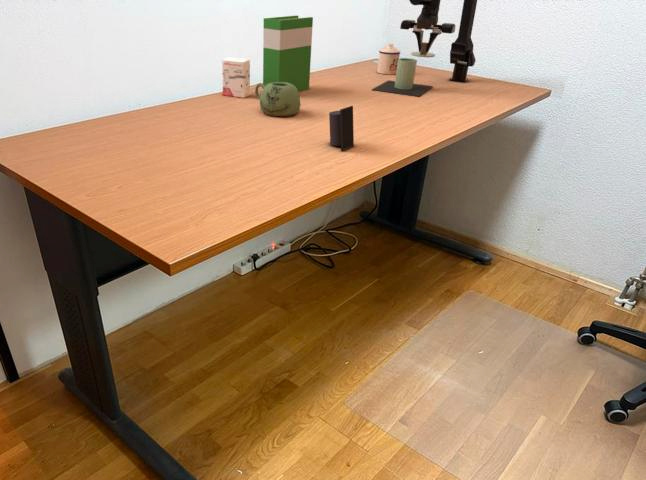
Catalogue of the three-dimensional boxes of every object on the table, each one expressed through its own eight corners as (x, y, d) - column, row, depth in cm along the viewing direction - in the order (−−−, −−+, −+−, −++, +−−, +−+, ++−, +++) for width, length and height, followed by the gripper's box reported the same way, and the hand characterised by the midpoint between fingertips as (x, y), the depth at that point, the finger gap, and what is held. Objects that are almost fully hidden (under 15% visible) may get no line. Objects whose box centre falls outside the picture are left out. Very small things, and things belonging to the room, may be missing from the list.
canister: (408, 85, 197) (413, 58, 191) (415, 89, 191) (419, 61, 186) (391, 85, 196) (395, 58, 190) (397, 89, 190) (402, 61, 185)
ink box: (221, 95, 175) (220, 58, 169) (228, 92, 179) (227, 56, 173) (244, 98, 172) (243, 61, 166) (250, 95, 176) (250, 59, 170)
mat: (388, 81, 204) (388, 80, 204) (432, 87, 197) (432, 86, 197) (371, 90, 189) (372, 89, 189) (418, 96, 182) (419, 96, 182)
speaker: (360, 147, 130) (360, 106, 125) (342, 151, 128) (341, 109, 123) (342, 141, 136) (342, 102, 131) (325, 145, 134) (324, 105, 129)
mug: (307, 111, 160) (309, 83, 155) (285, 120, 151) (286, 90, 146) (266, 103, 167) (267, 76, 162) (243, 111, 158) (243, 82, 153)
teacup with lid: (392, 75, 214) (396, 46, 207) (372, 72, 218) (376, 43, 212) (403, 71, 222) (407, 43, 216) (384, 69, 226) (388, 41, 220)
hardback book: (293, 85, 192) (296, 15, 179) (309, 88, 188) (312, 17, 175) (263, 92, 180) (263, 18, 167) (278, 96, 176) (280, 20, 164)
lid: (414, 52, 192) (416, 40, 189) (437, 55, 188) (439, 42, 186) (408, 55, 185) (410, 42, 183) (431, 58, 182) (433, 45, 180)
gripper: (399, 4, 175) (392, 52, 184) (453, 7, 168) (443, 57, 177) (408, 2, 184) (401, 48, 192) (459, 6, 177) (450, 53, 185)
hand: (423, 52), depth 186 cm, fingers closed on lid, 2 cm apart
